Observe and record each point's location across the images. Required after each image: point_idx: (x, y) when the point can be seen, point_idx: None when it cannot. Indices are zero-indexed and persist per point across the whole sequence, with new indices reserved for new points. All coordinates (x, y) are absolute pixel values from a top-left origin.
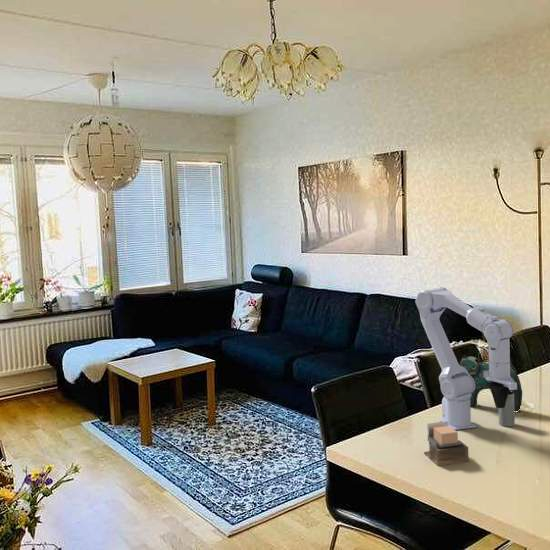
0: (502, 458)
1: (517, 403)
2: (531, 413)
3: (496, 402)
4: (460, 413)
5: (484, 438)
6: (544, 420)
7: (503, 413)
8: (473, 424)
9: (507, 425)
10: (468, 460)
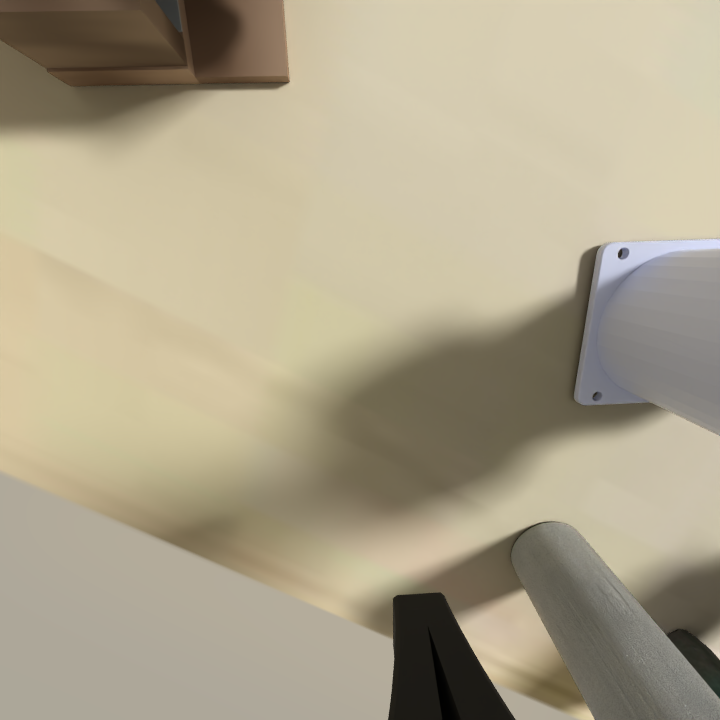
0: (112, 324)
1: None
2: None
3: (416, 656)
4: (694, 325)
5: (414, 368)
6: (517, 689)
7: (570, 591)
8: (608, 398)
9: (518, 545)
10: (63, 78)
